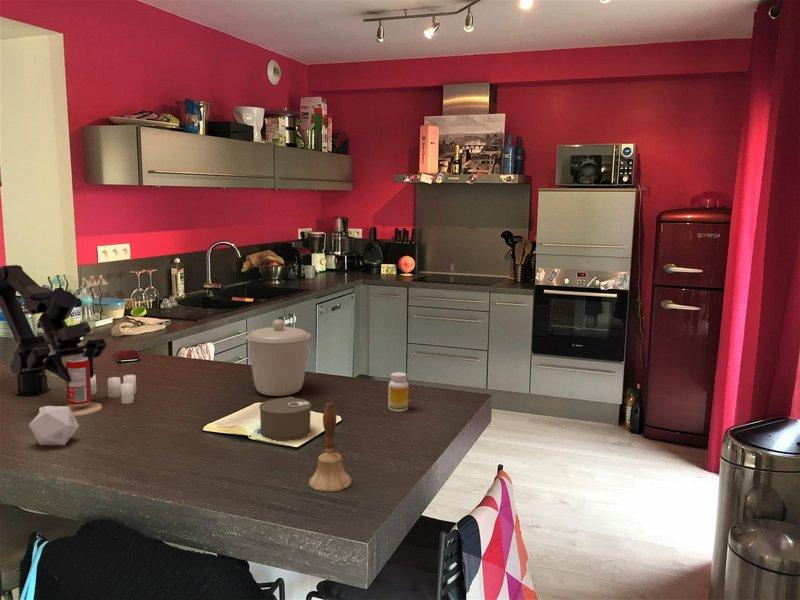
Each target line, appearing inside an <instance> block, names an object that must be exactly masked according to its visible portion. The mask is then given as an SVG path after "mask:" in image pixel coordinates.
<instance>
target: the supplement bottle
mask: <svg viewBox="0 0 800 600" xmlns="http://www.w3.org/2000/svg"><path fill="white" fill-rule="evenodd" d="M390 376H391V377H390V381H389V383H388V388H387V389H388V393H387V395H388V396H387V397H388V401H387V404H388V405H387V408H388V410H389V411H392V412H398V413H399V412H405V411H408V409H409V388H410V387H409V386H410V385H409V382H408V381H407V373H405V372H400V371H398V372H397V371H396V372H392V373H391V374H390Z"/></svg>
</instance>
